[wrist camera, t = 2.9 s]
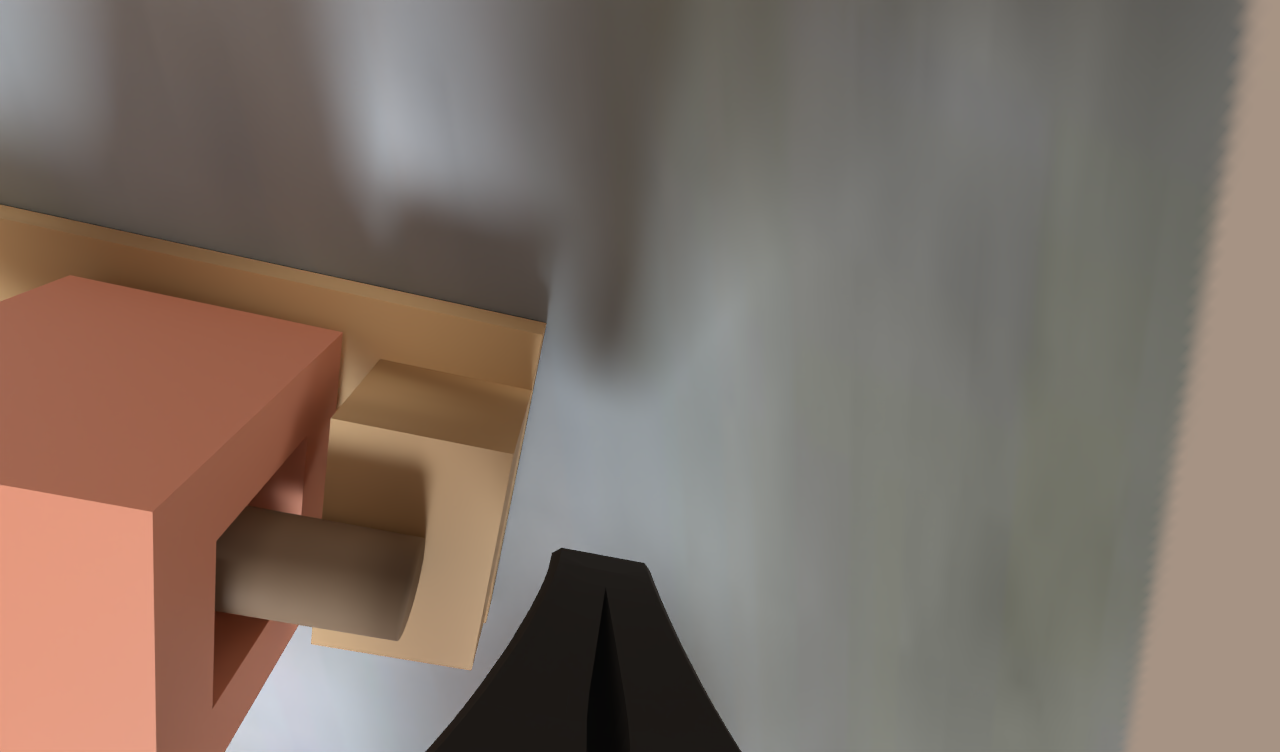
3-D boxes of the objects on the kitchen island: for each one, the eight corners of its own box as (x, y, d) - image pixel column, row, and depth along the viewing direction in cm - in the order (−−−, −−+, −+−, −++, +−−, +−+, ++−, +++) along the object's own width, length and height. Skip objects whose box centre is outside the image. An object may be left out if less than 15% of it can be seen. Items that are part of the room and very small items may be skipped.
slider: (86, 547, 13) (-215, 817, 8) (69, 275, 11) (-330, 425, 6) (319, 588, 13) (157, 865, 9) (342, 332, 11) (152, 512, 7)
